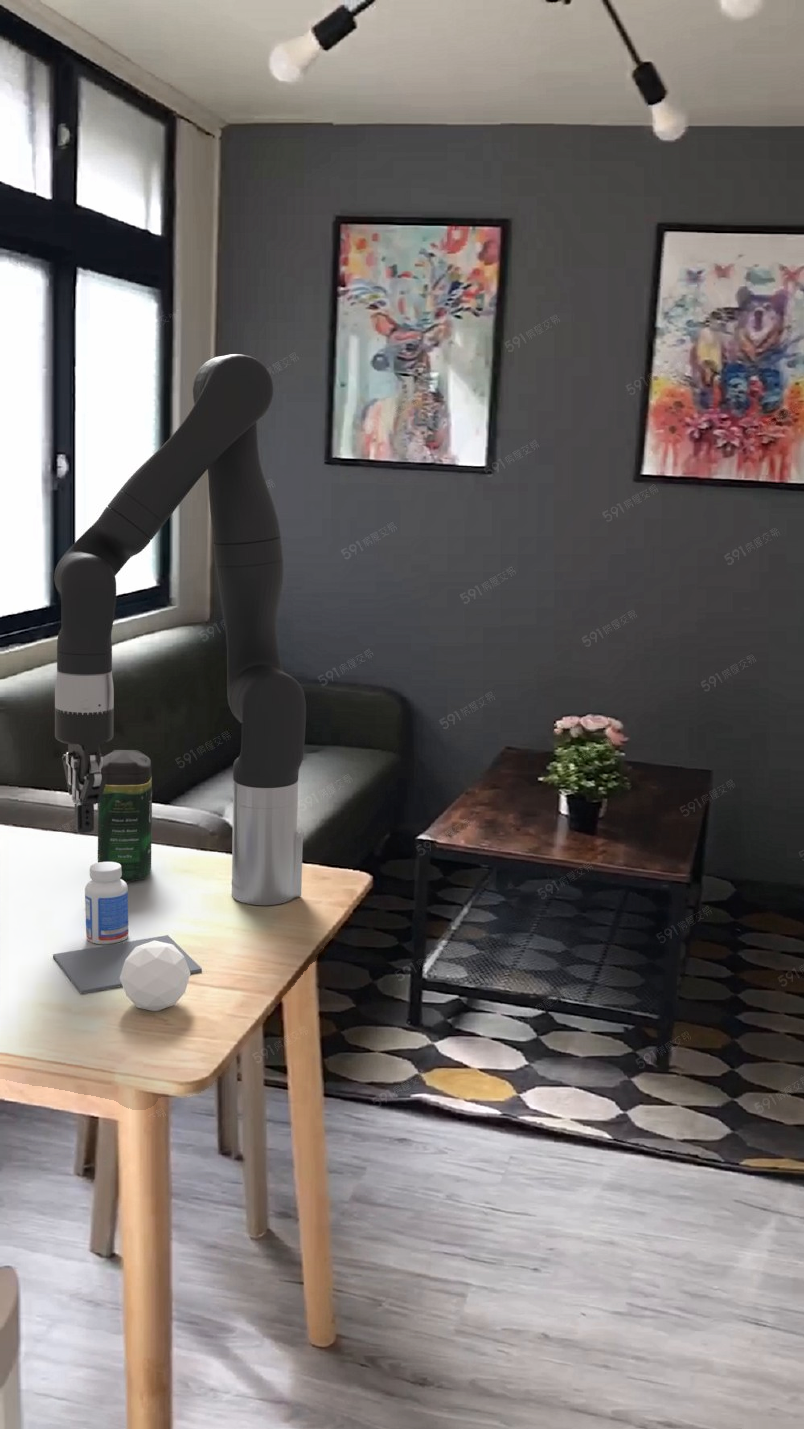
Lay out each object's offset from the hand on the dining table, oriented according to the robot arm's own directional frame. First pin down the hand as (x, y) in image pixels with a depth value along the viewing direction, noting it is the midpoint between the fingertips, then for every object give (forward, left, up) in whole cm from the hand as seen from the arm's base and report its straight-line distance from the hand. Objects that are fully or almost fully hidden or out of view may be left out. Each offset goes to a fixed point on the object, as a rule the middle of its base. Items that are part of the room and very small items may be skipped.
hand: (84, 830), depth 169 cm
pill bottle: (0, +9, -12) cm, 15 cm away
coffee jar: (-10, -14, -12) cm, 21 cm away
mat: (0, +19, -12) cm, 22 cm away
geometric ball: (+1, +31, -12) cm, 34 cm away
